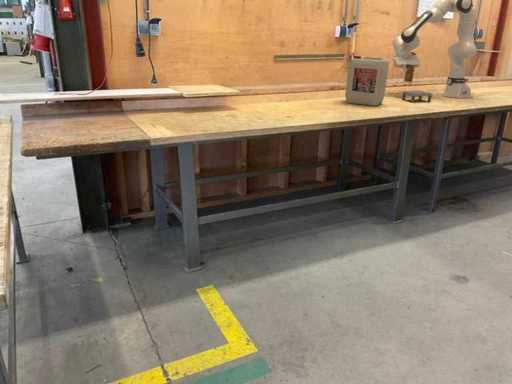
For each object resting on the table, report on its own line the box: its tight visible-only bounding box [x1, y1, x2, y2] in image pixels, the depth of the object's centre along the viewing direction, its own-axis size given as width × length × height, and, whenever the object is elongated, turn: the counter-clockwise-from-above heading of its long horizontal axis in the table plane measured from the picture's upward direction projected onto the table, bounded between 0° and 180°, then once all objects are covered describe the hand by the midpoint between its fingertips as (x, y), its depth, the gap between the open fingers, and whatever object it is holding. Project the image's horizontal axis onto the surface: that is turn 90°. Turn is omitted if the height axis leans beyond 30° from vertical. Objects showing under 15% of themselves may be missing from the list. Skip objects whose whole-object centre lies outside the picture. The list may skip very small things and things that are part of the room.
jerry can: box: [344, 55, 390, 107], centre depth 276 cm, size 24×19×30 cm
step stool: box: [401, 90, 434, 104], centre depth 295 cm, size 16×12×6 cm
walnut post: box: [403, 64, 415, 83], centre depth 301 cm, size 4×4×12 cm
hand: (410, 71), depth 300 cm, fingers closed on walnut post, 4 cm apart
